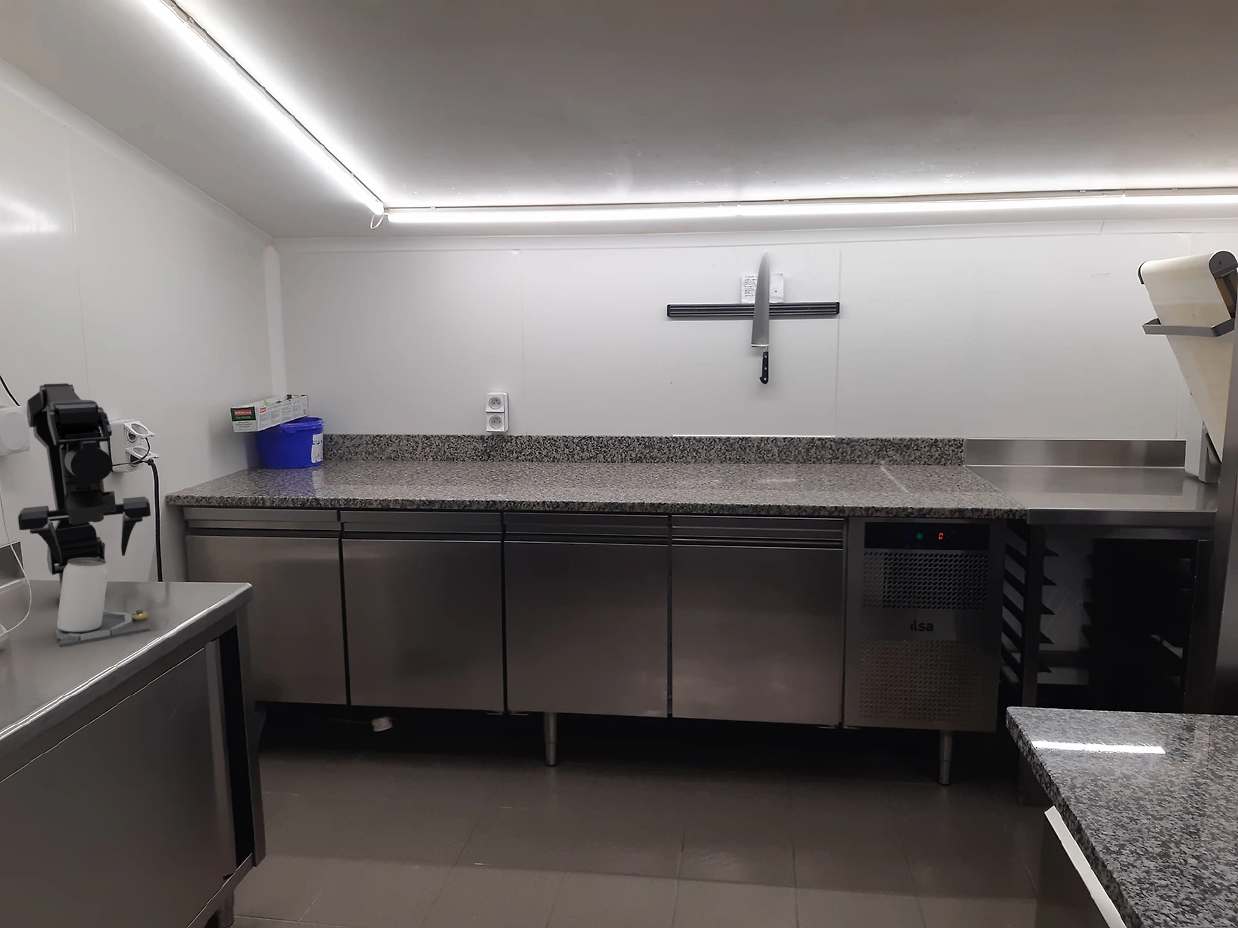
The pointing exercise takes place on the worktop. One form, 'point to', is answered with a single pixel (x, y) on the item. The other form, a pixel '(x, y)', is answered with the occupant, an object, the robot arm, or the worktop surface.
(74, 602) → the can
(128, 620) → the socket
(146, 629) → the carrier plate
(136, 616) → the brass round knob
